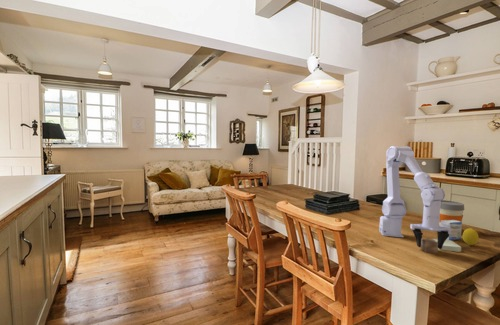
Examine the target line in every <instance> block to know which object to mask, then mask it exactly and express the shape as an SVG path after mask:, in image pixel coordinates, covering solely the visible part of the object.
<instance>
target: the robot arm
mask: <svg viewBox="0 0 500 325" xmlns="http://www.w3.org/2000/svg"><path fill="white" fill-rule="evenodd" d="M385 152H386V153H385V155H386V158H385V160H386V162H385V167H386V188H387V190H386V191H387V192H386V193H387V197H386V198H385V199H384V200H383V201H382V206H381V212H382V214H383V215H381V216H380V217H379V225H378V227H379V228H378V231H379V233H380V235H382V236H383V237H385V236H386V237H396V238H404V237H405V236H404V235H403V234H402V222H403V218H404V216H405V215H406V214H407V207H406V204H405V201H404V199H403V198H401V189H400V184H401V183H400V168H399V167H400V165H401V164H403V163H404V164H405V165H406V166H407V167H408V169H409V170H410V171H411V173H412V175H414V177H413V180H414V182H415V183H416V185H417V187H418V188H419V190H420V191H421V193H420V197H421V199H422V204H423V210H422V211H423V212H422V222H421V223H410V226H409V227H410V229H411V230H412V232H413V234H414V238H415V241H416V246H417V247H418V248H421V239H422V238H423V234H424V233H423V232H422V231H430V232H436V234H437V239H438V241H437V243H438V248H439V249H442V246H443V244H444V242H445V240H446V239H447V238H448V237H449V234H448V233H451V228H450V227H444V226H439V218H440V205H441V201H442V200H445V196H446V194H445V191H444V189H443V188H441V187H439V186H438V185H436V183H435V182H434V180H432V178H431V174H430V173H427V172H424V171H423V170H422V168H421V166H420V164H419V163H418V160H416V158H415V152H414V151H413V149H412V147H411V146H395V145H391V146H390V147H389V148H387V150H386V151H385ZM439 249H438V250H439Z"/></svg>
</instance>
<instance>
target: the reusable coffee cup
mask: <svg viewBox="0 0 500 325" xmlns="http://www.w3.org/2000/svg"><path fill="white" fill-rule="evenodd" d="M464 210H465V204H464V203H462V202H459V201H452V200H447V199H446V200H445V199H443V200H442V201H441V205H440V218H439V226H441V221H444V220H457V221H460V222H462V221H463V218H464V215H463V213H464ZM462 223H463V222H462Z"/></svg>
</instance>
